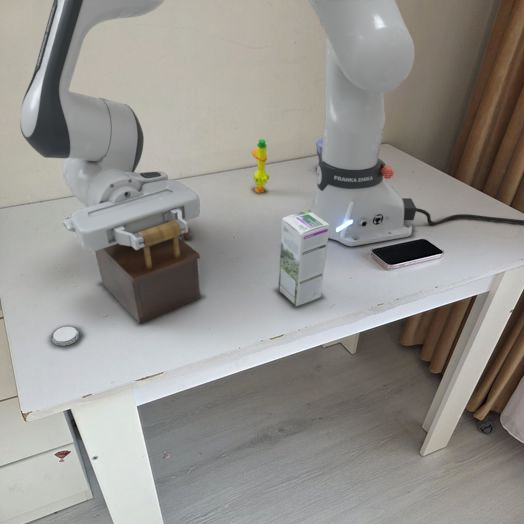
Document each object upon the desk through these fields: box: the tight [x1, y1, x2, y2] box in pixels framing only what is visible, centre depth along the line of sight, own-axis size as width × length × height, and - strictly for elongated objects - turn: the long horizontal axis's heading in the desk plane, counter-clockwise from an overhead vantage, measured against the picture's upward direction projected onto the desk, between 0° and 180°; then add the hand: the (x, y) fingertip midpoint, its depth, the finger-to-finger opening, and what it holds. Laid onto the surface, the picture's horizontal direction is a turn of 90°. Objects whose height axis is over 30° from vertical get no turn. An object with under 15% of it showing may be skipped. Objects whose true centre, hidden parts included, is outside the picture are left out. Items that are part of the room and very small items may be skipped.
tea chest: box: [94, 250, 201, 324], centre depth 83 cm, size 14×12×8 cm
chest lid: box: [101, 220, 201, 283], centre depth 78 cm, size 15×12×7 cm
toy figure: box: [251, 139, 270, 194], centre depth 112 cm, size 7×4×12 cm, turn 27°
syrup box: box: [278, 210, 330, 307], centre depth 81 cm, size 6×6×14 cm
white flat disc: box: [51, 325, 80, 346], centre depth 76 cm, size 4×4×1 cm
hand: (163, 236), depth 72 cm, fingers closed on chest lid, 6 cm apart
